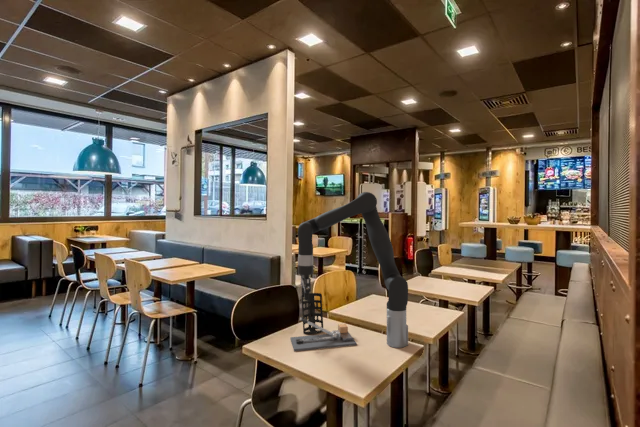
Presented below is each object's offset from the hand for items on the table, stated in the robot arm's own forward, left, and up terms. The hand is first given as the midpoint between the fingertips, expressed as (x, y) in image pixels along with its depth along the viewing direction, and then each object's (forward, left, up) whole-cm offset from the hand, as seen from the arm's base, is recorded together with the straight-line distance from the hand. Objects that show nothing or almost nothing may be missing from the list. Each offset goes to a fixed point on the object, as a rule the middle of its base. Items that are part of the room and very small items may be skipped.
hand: (305, 297), depth 163 cm
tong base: (-9, -2, -22) cm, 24 cm away
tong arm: (-6, 0, -15) cm, 16 cm away
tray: (-8, 0, -23) cm, 24 cm away
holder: (-6, -15, -23) cm, 28 cm away
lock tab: (-20, -5, -20) cm, 29 cm away
